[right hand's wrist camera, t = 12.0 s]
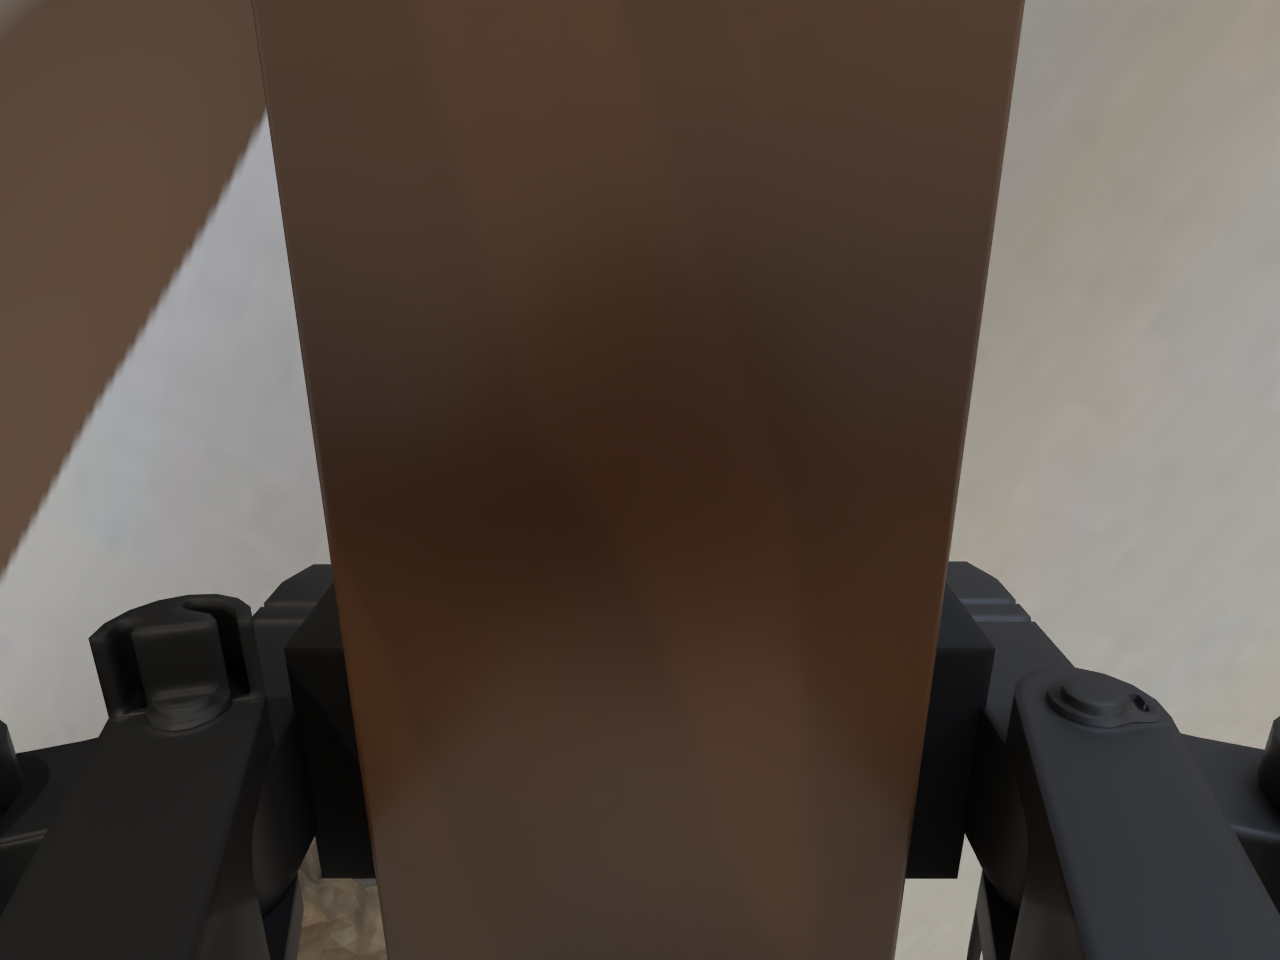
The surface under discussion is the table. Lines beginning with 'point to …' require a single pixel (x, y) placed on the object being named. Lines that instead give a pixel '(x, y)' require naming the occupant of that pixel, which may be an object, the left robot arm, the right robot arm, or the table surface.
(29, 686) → the table surface
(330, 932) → the stone
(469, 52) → the walnut beam
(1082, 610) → the table surface
